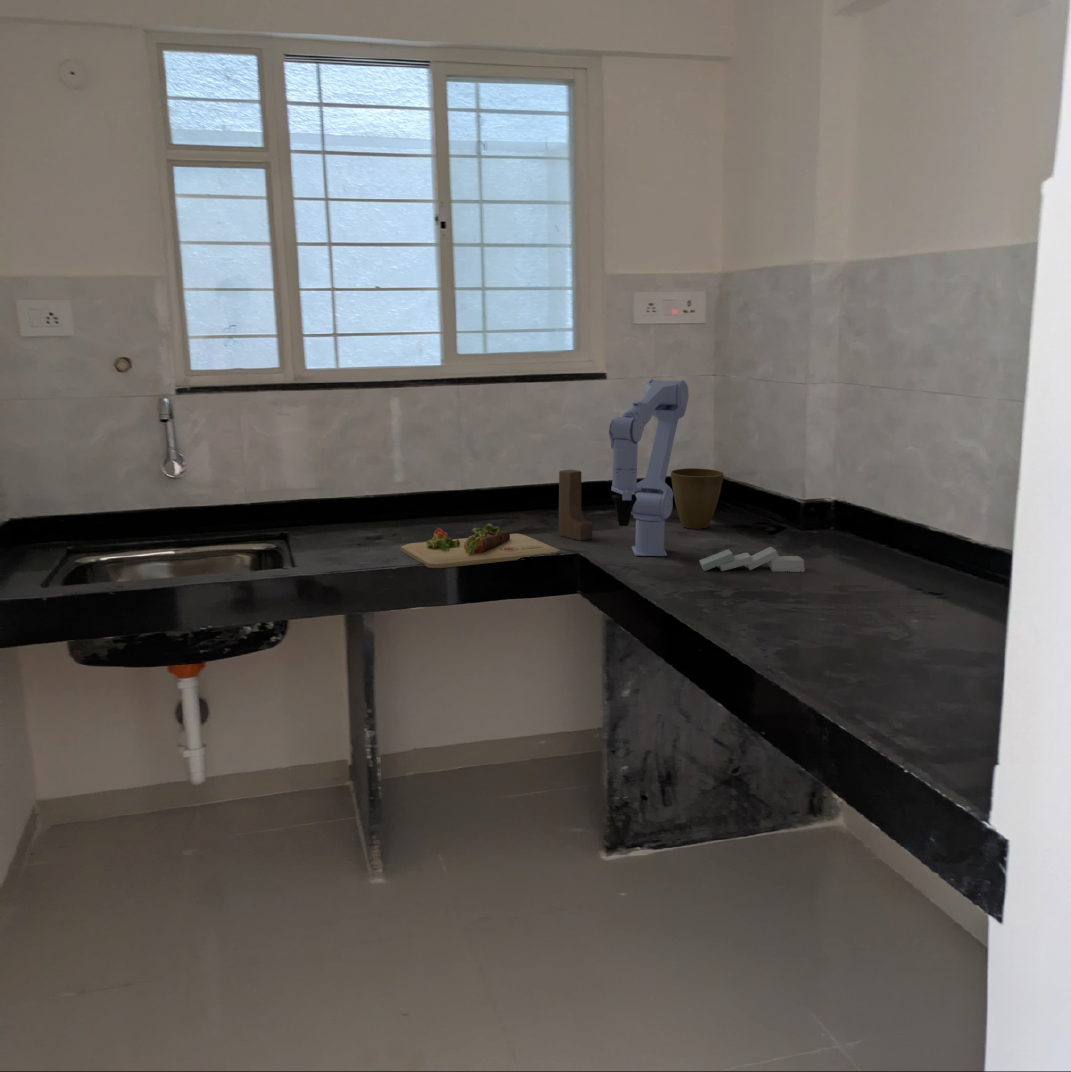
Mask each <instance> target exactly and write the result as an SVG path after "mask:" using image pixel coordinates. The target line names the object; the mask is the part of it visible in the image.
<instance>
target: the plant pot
mask: <svg viewBox="0 0 1071 1072" xmlns="http://www.w3.org/2000/svg"><path fill="white" fill-rule="evenodd" d="M724 475H725V473H724V472H723V471H720V470H716V469H711V468H698V467H696V468H694V467H693V468H687V467H685V468H678V469H673V470H671V471H670V479H671V485H672V491H673V499H674V502H675V508H676V511H677V515H678V518H679V521H680V523H681V527H682V526H683V527H682V528H684V527H686V528H685V529H687V528H693V529H692V530H702V529H701V528H706V529H708V528H709V526H710V524H711V521H712V519H713V516H714V514H715V511H716V508H717V506H718V505H717V504H718V502H719V498H720V496H721V491H722V485H723V481H724V477H725V476H724ZM707 527H708V528H707Z"/></svg>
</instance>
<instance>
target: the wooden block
mask: <svg viewBox="0 0 1071 1072" xmlns="http://www.w3.org/2000/svg"><path fill="white" fill-rule="evenodd" d="M582 473H583V472H582V471H581V470H576V469H563V470H560V471H559V472H558V536H559V537H562V536H563V538H567V539H571V540H575V539H576V541H580V542H582V541H586V540H591V539H593V522H591V521H589V520H587V519H586V518H585V517H584V514H583V511H582Z"/></svg>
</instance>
